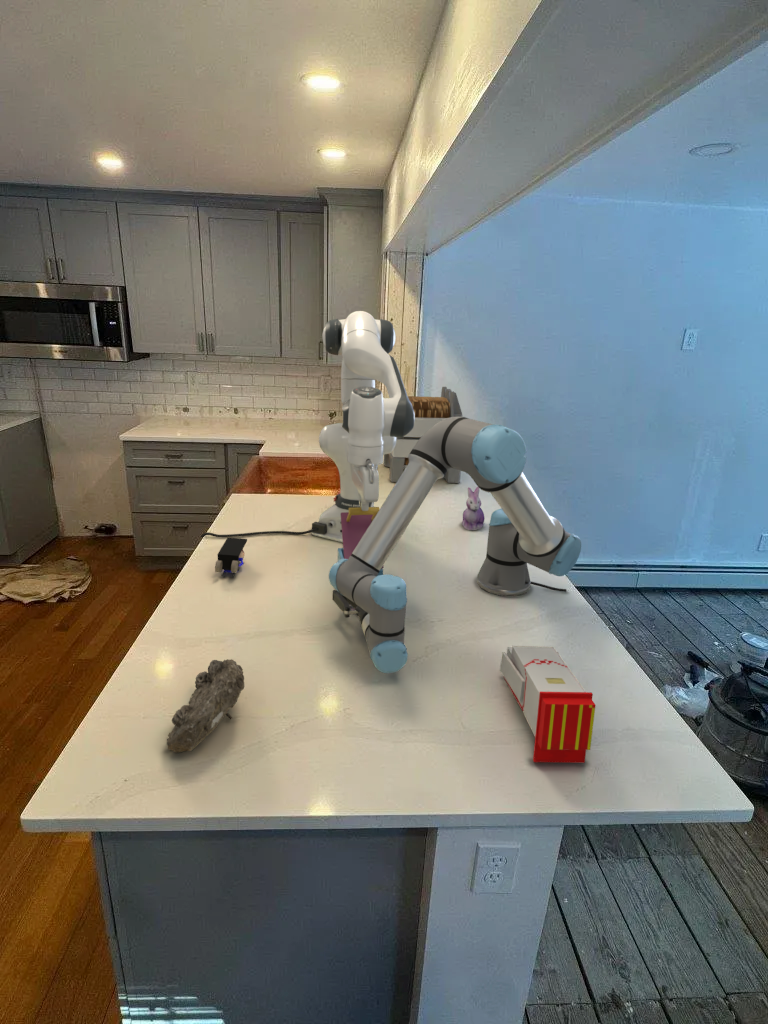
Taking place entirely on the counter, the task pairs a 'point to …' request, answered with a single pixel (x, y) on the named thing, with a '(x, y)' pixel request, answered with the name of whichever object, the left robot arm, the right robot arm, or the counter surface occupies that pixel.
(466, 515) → the figurine
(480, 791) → the counter surface
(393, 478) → the transformer
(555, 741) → the toy
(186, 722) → the fossil
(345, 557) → the lid
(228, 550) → the figurine character
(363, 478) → the left robot arm
